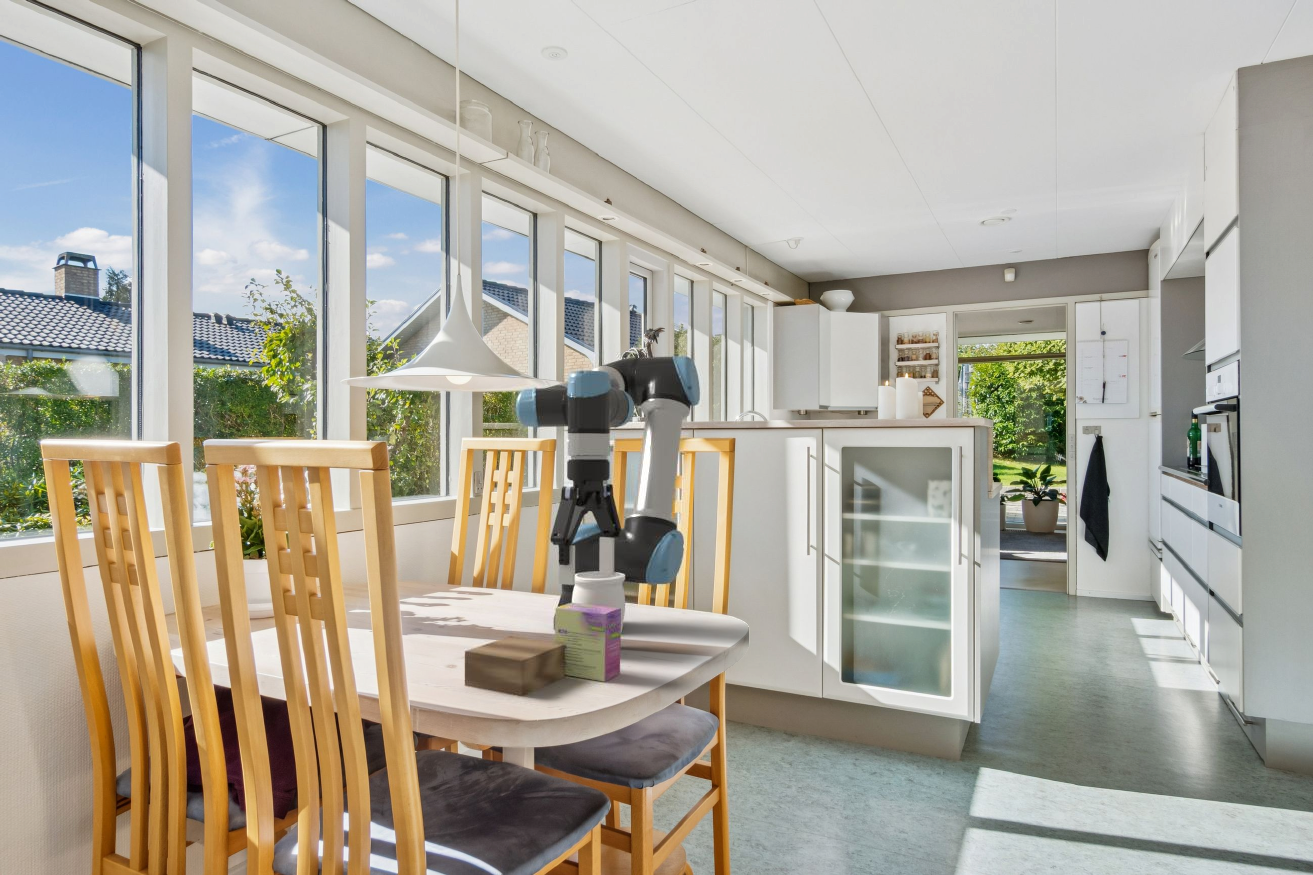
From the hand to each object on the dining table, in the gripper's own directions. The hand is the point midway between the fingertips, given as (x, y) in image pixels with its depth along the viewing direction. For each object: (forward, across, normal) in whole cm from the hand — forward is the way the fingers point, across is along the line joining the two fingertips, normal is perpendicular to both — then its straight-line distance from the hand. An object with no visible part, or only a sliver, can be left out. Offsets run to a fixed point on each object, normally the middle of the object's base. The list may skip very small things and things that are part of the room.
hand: (587, 578), depth 137 cm
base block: (+17, +9, -9) cm, 21 cm away
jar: (+17, -14, -6) cm, 23 cm away
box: (+17, 0, 0) cm, 17 cm away
